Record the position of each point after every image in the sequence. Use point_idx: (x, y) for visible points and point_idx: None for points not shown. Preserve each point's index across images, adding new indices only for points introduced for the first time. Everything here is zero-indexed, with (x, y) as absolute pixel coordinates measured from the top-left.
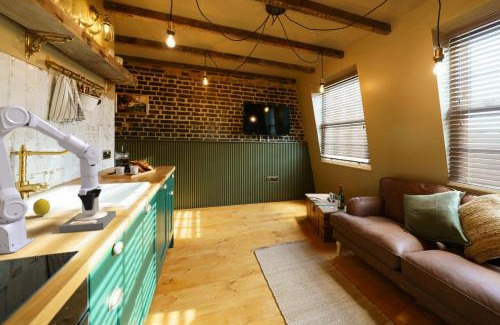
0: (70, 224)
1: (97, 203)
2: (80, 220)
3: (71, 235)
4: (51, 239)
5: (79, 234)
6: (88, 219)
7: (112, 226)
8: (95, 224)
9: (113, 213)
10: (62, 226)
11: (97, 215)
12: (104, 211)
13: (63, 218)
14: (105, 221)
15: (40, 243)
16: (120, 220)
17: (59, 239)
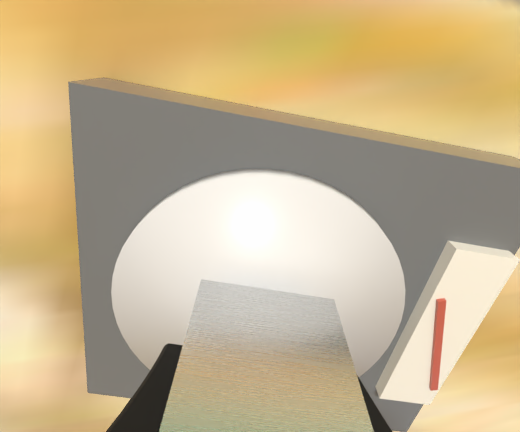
0: (428, 395)
1: (231, 377)
2: (367, 360)
3: (489, 333)
4: (484, 399)
5: (505, 297)
6: (401, 315)
7: (479, 81)
8: (516, 238)
9: (182, 102)
10: (411, 419)
11: (301, 264)
12: (150, 216)
13: (84, 424)
14: (487, 160)
15: (512, 423)
16: (304, 5)
17: (517, 371)
